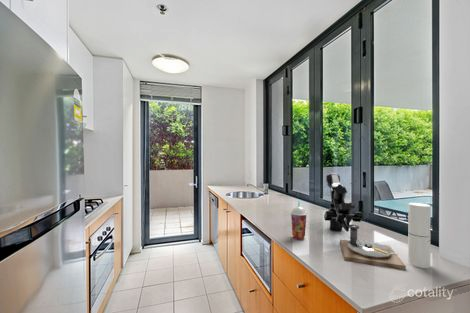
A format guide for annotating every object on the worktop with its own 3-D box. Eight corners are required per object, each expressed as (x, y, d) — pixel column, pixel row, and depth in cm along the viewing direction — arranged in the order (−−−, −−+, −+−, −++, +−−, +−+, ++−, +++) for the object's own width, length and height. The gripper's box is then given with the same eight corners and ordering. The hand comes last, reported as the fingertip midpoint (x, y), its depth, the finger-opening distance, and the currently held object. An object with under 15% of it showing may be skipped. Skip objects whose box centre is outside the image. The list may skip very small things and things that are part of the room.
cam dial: (350, 254, 97) (350, 231, 97) (345, 240, 113) (346, 220, 113) (396, 261, 91) (396, 236, 91) (385, 246, 107) (385, 224, 107)
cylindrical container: (403, 260, 96) (404, 202, 96) (419, 259, 97) (419, 202, 97) (418, 268, 89) (419, 206, 89) (435, 267, 90) (435, 206, 90)
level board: (344, 259, 96) (344, 256, 96) (340, 242, 116) (340, 238, 116) (406, 269, 88) (406, 265, 88) (390, 248, 108) (390, 245, 108)
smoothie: (306, 236, 125) (306, 200, 125) (306, 241, 117) (306, 203, 117) (291, 234, 127) (291, 199, 127) (290, 239, 120) (290, 202, 120)
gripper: (325, 196, 118) (332, 222, 107) (362, 196, 116) (373, 224, 105) (321, 207, 126) (327, 233, 115) (355, 208, 124) (365, 234, 113)
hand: (347, 231), depth 112 cm, fingers closed
